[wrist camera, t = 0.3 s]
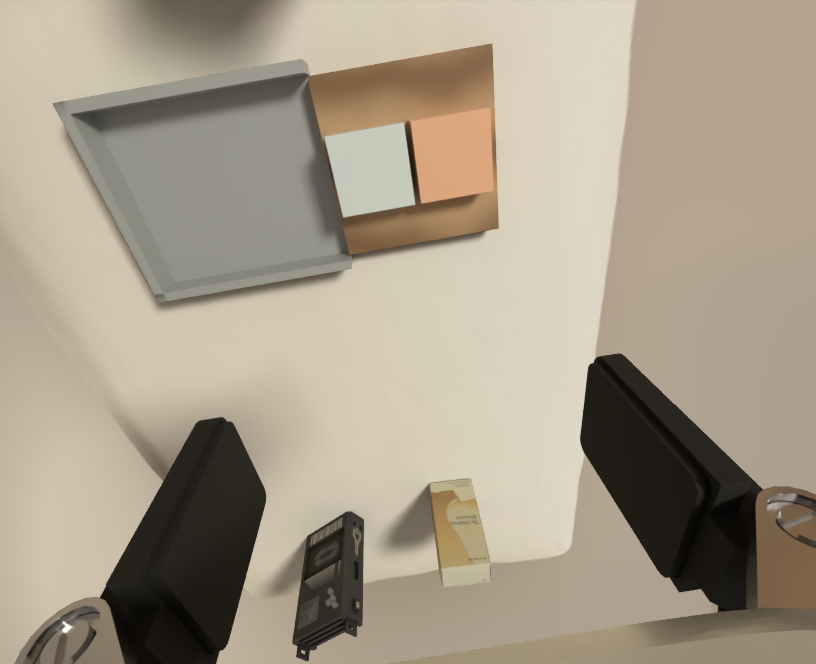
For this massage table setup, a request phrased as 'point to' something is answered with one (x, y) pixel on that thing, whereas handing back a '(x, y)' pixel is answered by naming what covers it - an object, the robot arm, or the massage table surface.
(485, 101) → the walnut plate
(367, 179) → the pale blue tile
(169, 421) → the massage table surface
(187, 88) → the grey tray
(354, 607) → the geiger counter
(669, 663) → the robot arm
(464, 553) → the skincare box
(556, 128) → the massage table surface
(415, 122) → the terracotta tile
